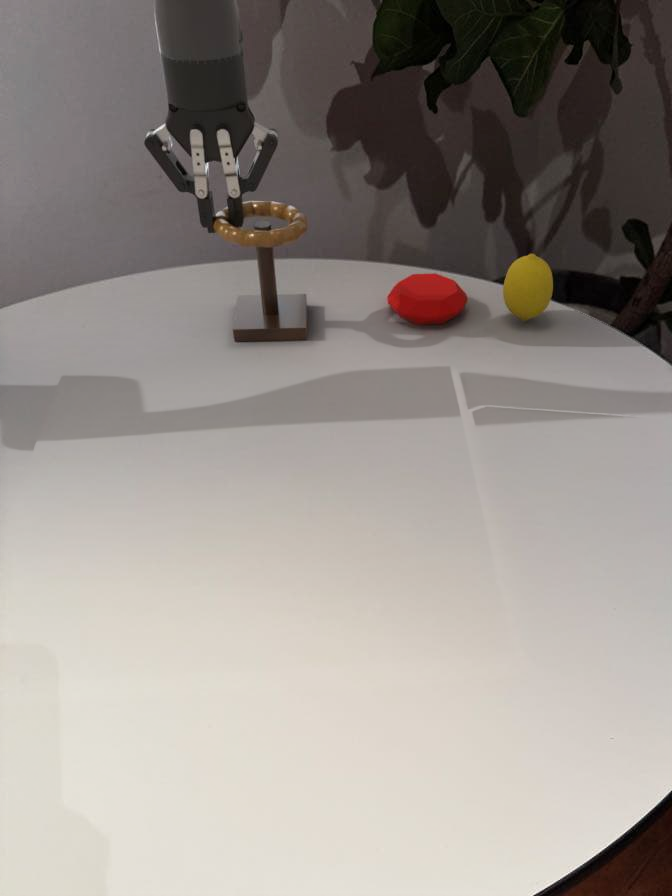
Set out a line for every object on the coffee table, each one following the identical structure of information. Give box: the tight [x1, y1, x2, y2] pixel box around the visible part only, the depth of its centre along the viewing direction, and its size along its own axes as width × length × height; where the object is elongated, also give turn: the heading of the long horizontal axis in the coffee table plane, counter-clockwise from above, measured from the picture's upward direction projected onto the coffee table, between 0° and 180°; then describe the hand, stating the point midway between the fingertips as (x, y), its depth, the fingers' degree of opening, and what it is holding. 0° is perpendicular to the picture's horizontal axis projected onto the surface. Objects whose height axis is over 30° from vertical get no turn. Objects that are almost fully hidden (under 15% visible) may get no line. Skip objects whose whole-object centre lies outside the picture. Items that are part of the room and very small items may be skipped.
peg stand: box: [232, 220, 308, 343], centre depth 96 cm, size 8×8×12 cm
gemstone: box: [386, 272, 468, 326], centre depth 101 cm, size 9×9×3 cm
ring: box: [214, 200, 308, 248], centre depth 92 cm, size 10×10×2 cm
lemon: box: [502, 253, 554, 322], centre depth 98 cm, size 6×6×8 cm
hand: (223, 229), depth 92 cm, fingers closed on ring, 2 cm apart
